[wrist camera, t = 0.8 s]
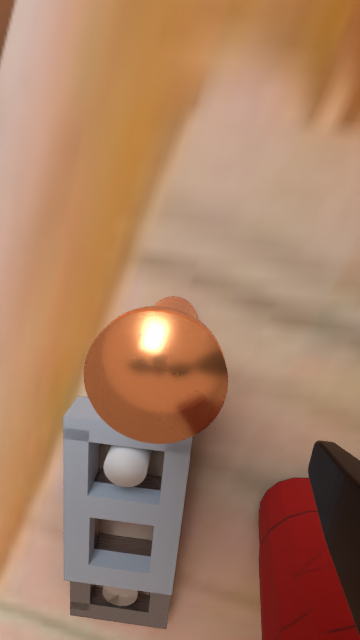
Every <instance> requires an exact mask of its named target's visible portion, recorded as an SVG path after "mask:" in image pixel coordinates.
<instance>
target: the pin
mask: <svg viewBox="0 0 360 640" xmlns="http://www.w3.org/2000/svg"><path fill="white" fill-rule="evenodd" d="M84 383H85V388H86V392H87V395H88V398H89V400H90V402H91V404H92V406H93V408H94V409H95V411H96V412H97V414H98V415H99V416H100V417H101V418H102V420H103V421H104V422H106V423H107V424H108V425H109V426H110V427H111V428H113V429H114V430H116V431H117V432H119V433H121V434H122V435H124V436H126V437H129V438H131V439H134V440H137V441H140V442H146V443H153V444H167V443H173V442H178V441H182V440H185V439H187V438H190V437H192V436H194V435H196V434H197V433H199V432H201V431H202V430H203V429H205V428H206V427H207V426H208V425H209V424H210V423H211V422H212V421H213V420H214V419H215V417H216V416H217V415H218V413H219V411H220V410H221V408H222V406H223V403H224V401H225V398H226V394H227V387H228V374H227V369H226V364H225V359H224V355H223V352H222V349H221V347H220V345H219V343H218V341H217V339H216V338H215V337H214V335H213V334H212V332H211V331H210V330H209V329H208V328H207V327H206V326H205V325H204V324H203V323H201V322H200V321H199V320H197V314H196V311H195V309H194V307H193V306H192V305H191V304H190V303H189V302H188V301H186V300H185V299H183V298H180V297H167V298H164V299H162V300H160V301H159V302H157V303H156V304H155V306H152V307H143V308H138V309H135V310H132V311H129V312H127V313H125V314H123V315H121V316H119V317H118V318H116V319H115V320H114V321H112V322H111V323H110V324H109V325H108V326H107V327H106V328H105V329H104V330H103V331H102V332H101V333H100V334H99V335H98V336H97V338H96V339H95V340H94V342H93V343H92V345H91V347H90V349H89V351H88V354H87V356H86V361H85V365H84Z"/></svg>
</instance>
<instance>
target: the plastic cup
mask: <svg viewBox="0 0 360 640" xmlns="http://www.w3.org/2000/svg"><path fill="white" fill-rule="evenodd" d="M259 540H260V550H259V577H260V601H261V626H262V640H360V636H359V633H358V631H357V628H356V625H355V622H354V619H353V617H352V614H351V611H350V608H349V605H348V603H347V600H346V597H345V594H344V592H343V589H342V586H341V583H340V580H339V578H338V575H337V572H336V569H335V566H334V564H333V561H332V558H331V555H330V553H329V550H328V547H327V544H326V541H325V537H324V534H323V530H322V527H321V523H320V519H319V515H318V511H317V507H316V503H315V499H314V495H313V491H312V487H311V483H310V479H309V478H291V479H288V480H284V481H281V482H278V483H277V484H276V485H274V486H273V487H272V488H270V489H269V490H267V492H266V493H265V495H264V497H263V498H262V500H261V502H260V509H259Z"/></svg>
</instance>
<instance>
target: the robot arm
mask: <svg viewBox="0 0 360 640" xmlns="http://www.w3.org/2000/svg"><path fill="white" fill-rule="evenodd" d="M308 474H309V479H310V483H311V487H312V491H313V495H314V499H315V503H316V507H317V511H318V515H319V519H320V523H321V527H322V530H323V534H324V537H325V541H326V544H327V547H328V550H329V553H330V555H331V558H332V561H333V564H334V566H335V569H336V572H337V575H338V578H339V580H340V583H341V586H342V589H343V592H344V594H345V597H346V600H347V603H348V605H349V608H350V611H351V614H352V617H353V619H354V622H355V625H356V628H357V631H358V633H359V636H360V460H358V459H357V458H355V457H354V456H352V455H351V454H350V453H348V452H347V451H345V450H344V449H342V448H341V447H340V446H338V445H337V444H335V443H333V442H328V441H320V440H319V441H317V442H316V443H315V444H314V447H313V451H312V455H311V459H310V463H309V467H308Z"/></svg>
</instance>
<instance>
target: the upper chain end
mask: <svg viewBox="0 0 360 640" xmlns="http://www.w3.org/2000/svg"><path fill="white" fill-rule="evenodd" d="M192 439H193V436H192V437H190V438H187V439H185V440H182V441H178V442H173V443H167V444H153V443H146V442H140V441H137V440H134V439H131V438H129V437H126V436H124V435H122V434H121V433H119V432H117V431H116V430H114V429H113V428H111V427H110V426H109V425H108V424H107V423H106V422H104V421H103V420H102V418H101V417H100V416H99V415H98V414H97V412H96V411H95V409H94V408H93V406H92V404H91V402H90V400H89V398H87V397H79V396H78V398H77V399H76V400H75V402H74V403H73V404H72V406H71V407H70V408H69V410H68V411H67V412H66V414H65V415H64V416H63V450H64V580H67V581H74V582H81V583H88V584H95V585H102V586H109V587H116V588H123V589H130V590H138V591H145V592H152V593H159V594H166V595H172V590H173V582H174V575H175V567H176V560H177V552H178V545H179V537H180V530H181V522H182V515H183V507H184V500H185V492H186V485H187V477H188V469H189V462H190V454H191V447H192ZM100 443H101V444H109V445H111V447H110V450H109V452H108V454H107V457H106V459H105V462H104V466H103V467H104V473H105V475H106V477H107V478H108V479H109V480H110V481H111V482H112V483H114V484H108V483H100V482H93V481H94V479H95V477H96V474H97V472H98V470H99V451H100ZM152 450H156V451H164V452H165V454H164V464H163V473H162V483H161V490H153V489H146V488H138V487H133V486H136V485H138V484H140V483H141V482H142V481H143V480H144V479H145V477H146V474H147V470H148V465H149V460H150V456H151V451H152ZM95 518H98V519H105V520H113V521H120V522H128V523H135V524H142V525H150V526H154V531H153V541H152V550H151V556H143V555H136V554H129V553H122V552H114V551H107V550H100V549H94V534H95Z"/></svg>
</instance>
